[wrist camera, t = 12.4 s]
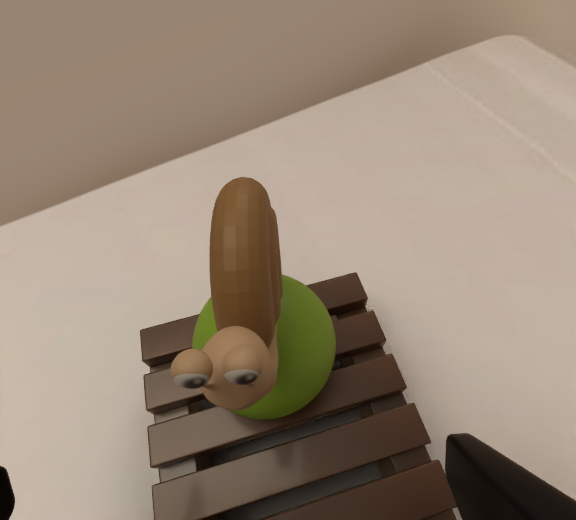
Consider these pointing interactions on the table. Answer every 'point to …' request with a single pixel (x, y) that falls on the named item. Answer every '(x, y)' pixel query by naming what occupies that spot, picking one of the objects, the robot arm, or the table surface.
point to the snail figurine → (255, 318)
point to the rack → (302, 452)
